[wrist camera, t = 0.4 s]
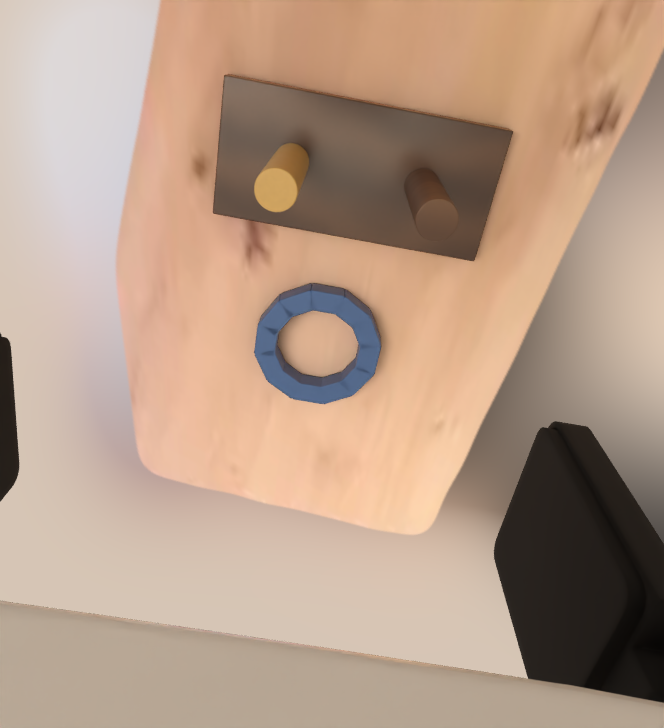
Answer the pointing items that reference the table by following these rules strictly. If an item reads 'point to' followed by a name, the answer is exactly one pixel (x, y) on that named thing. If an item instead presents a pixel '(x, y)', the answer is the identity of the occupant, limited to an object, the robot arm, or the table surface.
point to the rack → (355, 168)
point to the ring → (322, 301)
